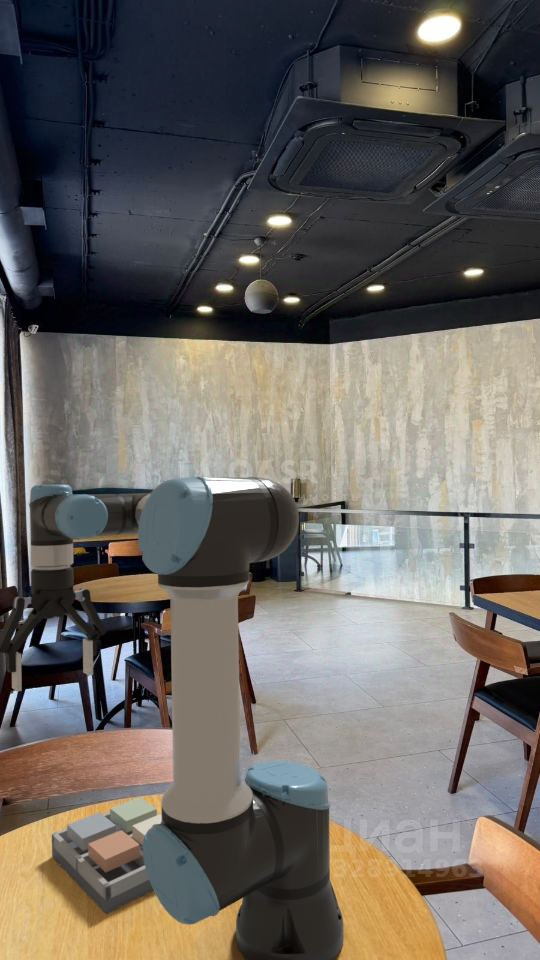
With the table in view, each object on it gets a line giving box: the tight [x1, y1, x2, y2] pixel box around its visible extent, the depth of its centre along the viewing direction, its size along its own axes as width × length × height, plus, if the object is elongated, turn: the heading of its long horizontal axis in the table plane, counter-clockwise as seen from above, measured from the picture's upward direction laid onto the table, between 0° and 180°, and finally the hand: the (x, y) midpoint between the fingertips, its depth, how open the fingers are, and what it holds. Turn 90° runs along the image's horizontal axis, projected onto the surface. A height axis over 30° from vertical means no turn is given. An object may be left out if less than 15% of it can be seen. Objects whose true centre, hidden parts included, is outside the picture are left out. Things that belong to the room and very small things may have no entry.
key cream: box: [132, 813, 162, 846], centre depth 107 cm, size 6×6×2 cm
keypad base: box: [51, 811, 160, 915], centre depth 107 cm, size 20×17×4 cm
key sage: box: [109, 796, 158, 833], centre depth 113 cm, size 6×6×2 cm
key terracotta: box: [88, 830, 140, 873], centre depth 102 cm, size 6×6×2 cm
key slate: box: [66, 812, 116, 851], centre depth 108 cm, size 6×6×2 cm
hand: (53, 681), depth 118 cm, fingers open, 13 cm apart
